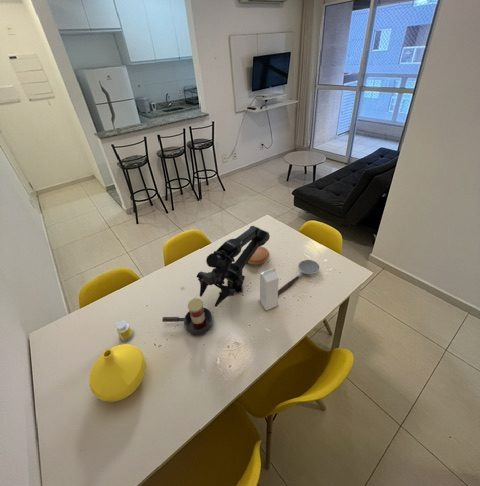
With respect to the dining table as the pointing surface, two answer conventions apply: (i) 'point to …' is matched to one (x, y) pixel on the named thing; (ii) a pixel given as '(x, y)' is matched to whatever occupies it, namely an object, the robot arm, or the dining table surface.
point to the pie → (259, 256)
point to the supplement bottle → (124, 330)
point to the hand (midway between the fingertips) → (207, 301)
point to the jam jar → (197, 313)
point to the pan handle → (172, 319)
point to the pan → (203, 330)
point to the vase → (117, 372)
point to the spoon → (302, 272)
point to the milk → (269, 288)
